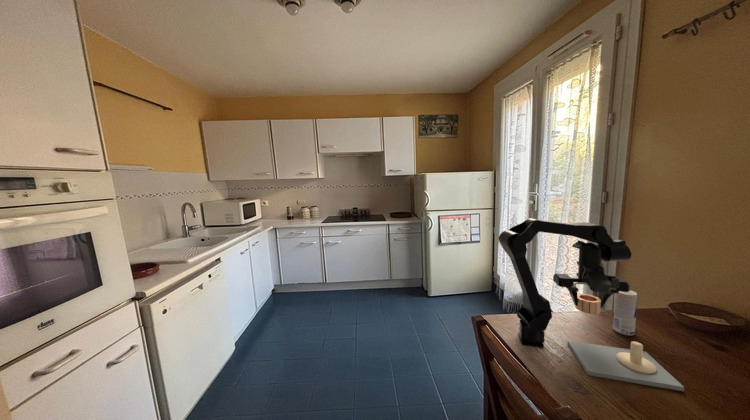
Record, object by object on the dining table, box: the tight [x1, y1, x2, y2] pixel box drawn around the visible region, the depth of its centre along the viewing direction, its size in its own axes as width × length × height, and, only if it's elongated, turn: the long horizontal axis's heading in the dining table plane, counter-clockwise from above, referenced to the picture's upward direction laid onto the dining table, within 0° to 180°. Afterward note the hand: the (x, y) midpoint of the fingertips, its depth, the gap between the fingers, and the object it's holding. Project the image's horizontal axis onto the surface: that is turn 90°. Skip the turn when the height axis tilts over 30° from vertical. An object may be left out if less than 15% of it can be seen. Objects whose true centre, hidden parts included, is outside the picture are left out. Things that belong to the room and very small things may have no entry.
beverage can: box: [612, 289, 638, 336], centre depth 88 cm, size 6×6×15 cm
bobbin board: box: [567, 340, 685, 392], centre depth 73 cm, size 20×14×7 cm
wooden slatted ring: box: [574, 293, 602, 315], centre depth 83 cm, size 6×6×4 cm
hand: (587, 306), depth 83 cm, fingers closed on wooden slatted ring, 6 cm apart
